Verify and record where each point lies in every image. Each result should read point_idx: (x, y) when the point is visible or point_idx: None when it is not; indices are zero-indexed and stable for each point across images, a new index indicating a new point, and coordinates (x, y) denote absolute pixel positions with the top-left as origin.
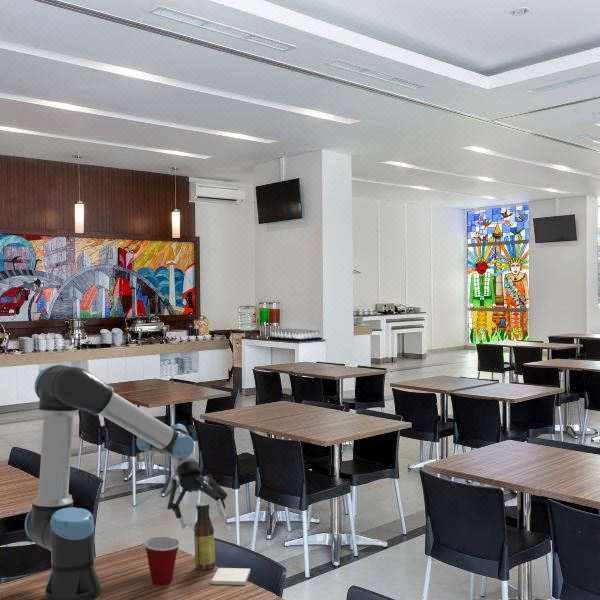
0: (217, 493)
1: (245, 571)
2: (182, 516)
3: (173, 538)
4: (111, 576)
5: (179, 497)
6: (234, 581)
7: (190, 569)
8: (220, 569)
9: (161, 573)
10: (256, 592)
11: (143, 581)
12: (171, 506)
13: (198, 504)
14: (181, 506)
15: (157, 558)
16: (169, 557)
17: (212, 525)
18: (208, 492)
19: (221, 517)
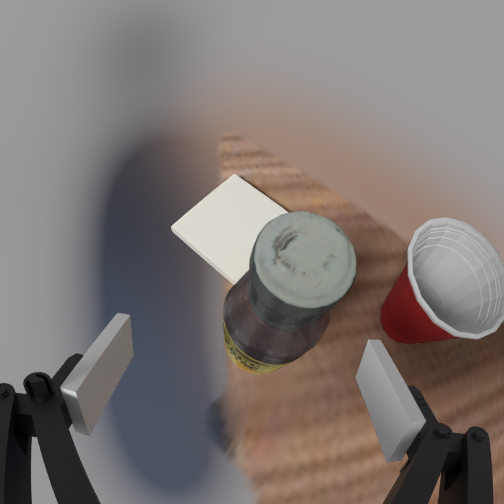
0: (42, 429)
1: (193, 219)
2: (395, 368)
3: (424, 301)
4: (483, 416)
5: (428, 483)
6: (254, 188)
7: (305, 356)
8: (242, 271)
9: (427, 276)
10: (236, 142)
11: (438, 346)
12: (463, 434)
13: (342, 265)
14: (409, 417)
15: (460, 256)
16: (430, 246)
17: (232, 291)
18: (97, 499)
19: (126, 359)
